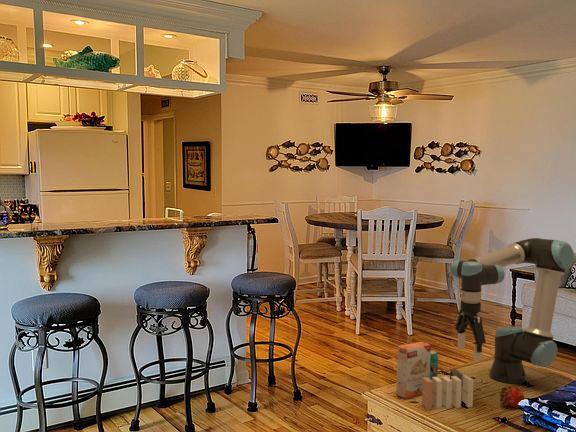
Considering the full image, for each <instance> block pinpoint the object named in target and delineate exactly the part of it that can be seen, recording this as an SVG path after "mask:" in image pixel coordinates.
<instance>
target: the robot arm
mask: <svg viewBox="0 0 576 432" xmlns="http://www.w3.org/2000/svg"><path fill="white" fill-rule="evenodd" d="M574 262H575V253H574V249H573V248H572V246H571V244H570V243H568V242H566V241H563V240H558V239H550V238H549V239H547V238H540V237H539V238H538V237H532V238H531V237H530V238H527V239H522V240H519V241H516V242H512V243H510V244H509V245H508V246H507V247H505V248H501V249H498V250H495V251H492V252H489V253H486V254H483V255H479V256H476V257H473V258H470V259H467V260H462V259H460V260H459V259H456V260H454V261H453V262H452V263H451V264H450V269H449V270H450V273H451V275H452V277H455V278H457V279H461V285H460V287H461V288H460V290H461V291H460V294H459V295H460V300H461V301H460V309H459V313H458V318H457V321H456V324H455V327H454V329H455V331H456V333H457V350H465V349H466V346H465V345H466V330H467V328H468V326H469V328H470V329H471V331H472V332H471V333H472V334H473V338H474V341H475V342H474V346H473V349H474V350H473V360H474V361H482V360H483V359H482V353H483V344H487V342H486V337H485V331H484V327H483V318H482V317H481V316H480V317H479V316H478V314H479V313H480V312H482V311H481V310H482V303H481V301H482V286H489V285H497V284H500V283H502V282H503V281H504V280H505V276H506V275H505V274H506V273H505V270H504V269H503V268H504V267H507V266H511V265H513V264H514V265H520V264H533V265H535V269H536V271H537V273H538V274H537V280H536V286H535V291H534V296H533V302H532V307H531V312H530V319H529V323H528V327H526V328H525V329H524V328H523V327H520V326H519V327H518V326H501V327H497V328H496V329H495V336H494V359H493V362H492V365H491V367H490V369H489V377H490V378H491V379H492V380H495V381H497V382H500V383H505V384H513V385H514V384H515V385H516V384H517V385H518V384H523V383H525V382H526V380H527V377H526V376H527V375H526V372H525V368H524V365H523V362H524V363H529V364H531V365H533V366H537V367H541V368H544V367H545V368H546V367H548V366H551V364H552V363H553V362H555V359H556V357H557V354H558V347H557V346H558V345H557V343H556V342H555V341H554V335H553V333H552V332H551V330H552V329H551V328H552V324H553V319H554V312H555V308H556V302H557V296H558V291H559V286H560V280H561V277H562V276H563V275H564V274H566V270H569V269H570V268H572V266H573V265H574Z"/></svg>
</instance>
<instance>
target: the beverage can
mask: <svg viewBox="0 0 576 432" xmlns="http://www.w3.org/2000/svg"><path fill="white" fill-rule="evenodd" d="M438 371H439V354H438V352H437V351H436V350H434V349H433V350H432V349H431V357H430V380H431V381H432V377H438ZM438 378H439V377H438Z"/></svg>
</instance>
